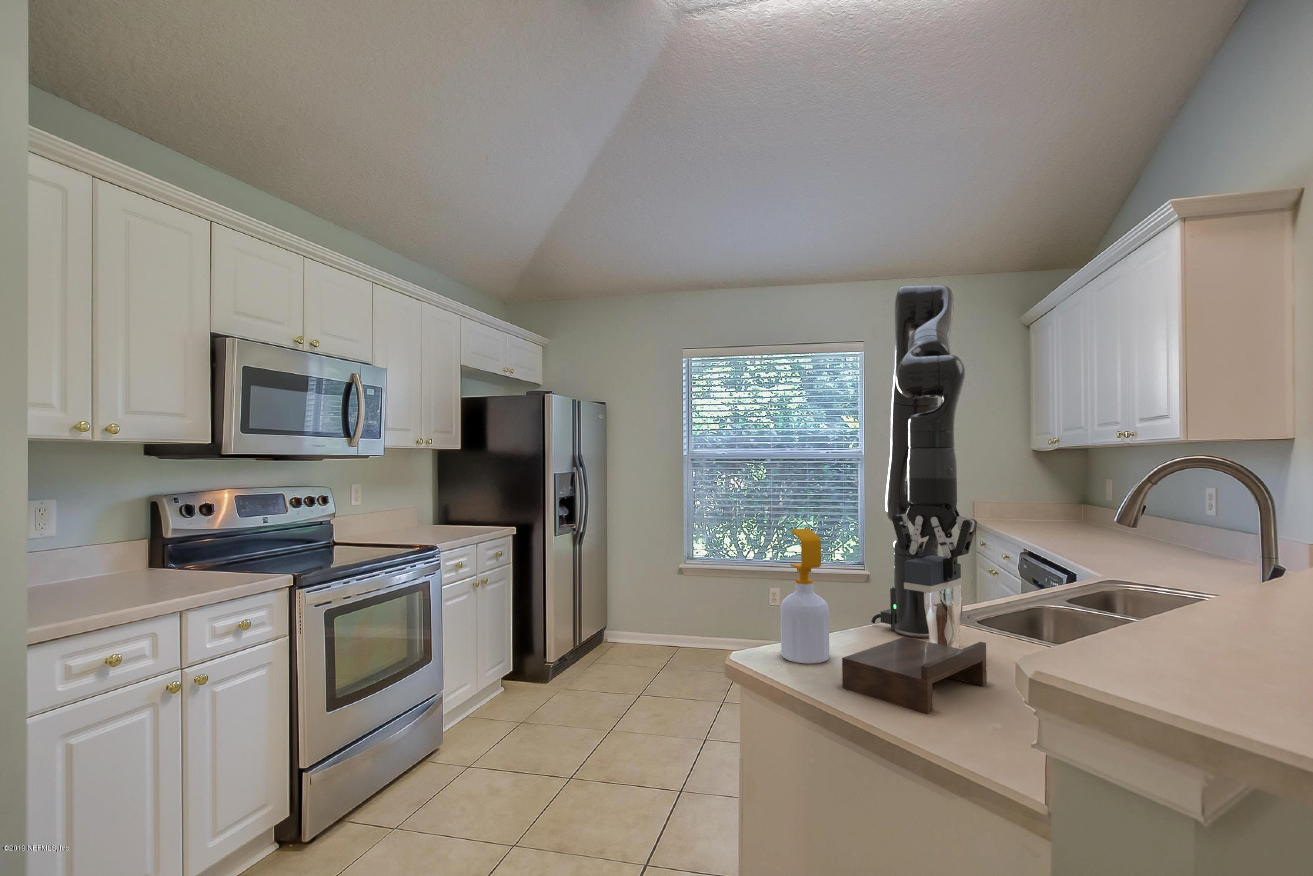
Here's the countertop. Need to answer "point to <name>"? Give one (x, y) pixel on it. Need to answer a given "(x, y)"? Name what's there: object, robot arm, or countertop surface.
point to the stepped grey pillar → (928, 574)
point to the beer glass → (944, 615)
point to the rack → (911, 670)
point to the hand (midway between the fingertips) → (933, 578)
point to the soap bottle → (805, 609)
